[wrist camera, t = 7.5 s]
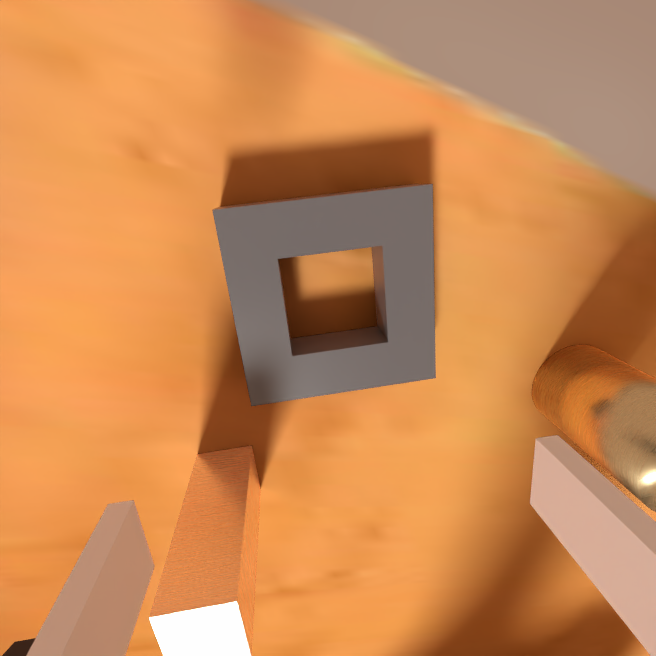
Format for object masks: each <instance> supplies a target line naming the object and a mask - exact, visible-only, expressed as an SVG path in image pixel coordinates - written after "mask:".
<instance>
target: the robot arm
mask: <svg viewBox="0 0 656 656" xmlns="http://www.w3.org/2000/svg"><path fill="white" fill-rule="evenodd" d="M530 504H531V506H532V507H533V508H534V509H535V511H536V512H537V513H538V515H539V516H540V517H541V518H542V520H543V521H544V522H545V523H546V525H547V526H548V527H549V528H550V530H551V531H552V532H553V533H554V535H555V536H556V537H557V538H558V540H559V541H560V542H561V543H562V545H563V546H564V547H565V548H566V550H567V551H568V552H569V553H570V555H571V556H572V557H573V559H574V560H575V561H576V562H577V564H578V565H579V566H580V567H581V569H582V570H583V571H584V572H585V574H586V575H587V576H588V577H589V579H590V580H591V581H592V582H593V584H594V585H595V586H596V587H597V589H598V590H599V591H600V592H601V594H602V595H603V596H604V598H605V599H606V600H607V601H608V603H609V604H610V605H611V606H612V608H613V609H614V610H615V611H616V613H617V614H618V615H619V616H620V618H621V619H622V620H623V621H624V623H625V624H626V625H627V626H628V628H629V629H630V630H631V631H632V633H633V634H634V635H635V636H636V638H637V639H638V640H639V642H640V643H641V644H642V645H643V647H644V648H645V649H646V650H647V652H648V653H649V654H650V655H651V656H656V522H655V521H654V520H653V519H652V518H651V517H650V516H648V515H647V514H646V513H645V512H644V511H643V510H642V509H640V508H639V507H638V506H637V505H636V504H635V503H634V502H633V501H631V500H630V499H629V498H628V497H627V496H626V495H625V494H624V493H622V492H621V491H620V490H619V489H618V488H617V487H616V486H615V485H613V484H612V483H611V482H610V481H609V480H608V479H607V478H606V477H604V476H603V475H602V474H601V473H600V472H599V471H598V470H596V469H595V468H594V467H593V466H592V465H591V464H590V463H589V462H587V461H586V460H585V459H584V458H583V457H582V456H581V455H580V454H578V453H577V452H576V451H575V450H574V449H573V448H572V447H571V446H569V445H568V444H567V443H566V442H565V441H564V440H563V439H562V438H560V437H559V436H558V435H554V436H547V437H541V438H536V442H535V453H534V464H533V475H532V486H531V497H530ZM153 570H154V563H153V560H152V557H151V553H150V550H149V547H148V544H147V541H146V538H145V534H144V531H143V528H142V525H141V522H140V519H139V516H138V512H137V509H136V506H135V503H134V500H132V501H125V502H119V503H112V504H108V505H107V507H106V509H105V511H104V513H103V515H102V516H101V518H100V520H99V522H98V524H97V526H96V528H95V529H94V531H93V533H92V535H91V537H90V539H89V541H88V542H87V544H86V546H85V548H84V550H83V552H82V554H81V555H80V557H79V559H78V561H77V563H76V565H75V566H74V568H73V570H72V572H71V574H70V576H69V578H68V579H67V581H66V583H65V585H64V587H63V589H62V591H61V592H60V594H59V596H58V598H57V600H56V602H55V604H54V605H53V607H52V609H51V611H50V613H49V615H48V616H47V618H46V620H45V622H44V624H43V626H42V628H41V629H40V631H39V633H38V635H37V637H36V638H35V639H29V640H23V641H18V642H14V643H13V644H12V646H11V647H10V648H9V649H8V650H7V651H6V652H5V653H4V654H3V655H2V656H125V655H126V652H127V649H128V646H129V643H130V640H131V636H132V633H133V630H134V627H135V624H136V621H137V618H138V615H139V612H140V609H141V606H142V603H143V600H144V597H145V594H146V591H147V588H148V585H149V582H150V579H151V576H152V573H153Z"/></svg>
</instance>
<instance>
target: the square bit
mask: <svg viewBox="0 0 656 656" xmlns="http://www.w3.org/2000/svg"><path fill="white" fill-rule="evenodd" d="M260 492H261V487H260V482H259V478H258V473H257V468H256V463H255V458H254V453H253V448H252V446H246V447H239V448H233V449H227V450H221V451H214V452H208V453H202V454H197V457H196V461H195V464H194V467H193V471H192V474H191V478H190V481H189V484H188V488H187V491H186V495H185V498H184V501H183V505H182V508H181V512H180V515H179V518H178V522H177V525H176V529H175V532H174V535H173V539H172V542H171V546H170V549H169V552H168V556H167V559H166V563H165V566H164V569H163V573H162V576H161V580H160V583H159V586H158V590H157V593H156V597H155V600H154V603H153V607H152V610H151V614H150V617H149V619H150V621H151V624H152V627H153V629H154V632H155V635H156V637H157V640H158V642H159V645H160V648H161V650H162V653H163V656H252V637H253V619H254V601H255V583H256V565H257V547H258V529H259V511H260Z"/></svg>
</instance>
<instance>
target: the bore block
mask: <svg viewBox="0 0 656 656" xmlns="http://www.w3.org/2000/svg"><path fill="white" fill-rule="evenodd" d="M213 215H214V220H215V225H216V230H217V235H218V240H219V245H220V250H221V255H222V260H223V265H224V270H225V276H226V281H227V286H228V291H229V296H230V301H231V306H232V311H233V316H234V321H235V326H236V331H237V336H238V341H239V346H240V351H241V356H242V361H243V366H244V371H245V376H246V381H247V386H248V392H249V397H250V402H251V406H256V405H263V404H269V403H276V402H282V401H289V400H295V399H302V398H308V397H315V396H321V395H328V394H335V393H341V392H348V391H354V390H361V389H367V388H374V387H380V386H387V385H393V384H400V383H406V382H413V381H420V380H426V379H433V378H436V372H435V307H434V242H433V184H409V185H400V186H392V187H383V188H375V189H366V190H358V191H349V192H341V193H332V194H323V195H315V196H306V197H298V198H289V199H281V200H272V201H264V202H255V203H246V204H238V205H229V206H221V207H218V208H216V209H213ZM367 247H372V259H373V273H374V288H375V302H376V317H377V326H375V327H368V328H361V329H354V330H347V331H340V332H333V333H326V334H319V335H312V336H305V337H298V338H291V337H290V331H289V324H288V317H287V310H286V304H285V297H284V290H283V284H282V277H281V270H280V264H279V259H281V258H289V257H297V256H304V255H312V254H320V253H328V252H336V251H344V250H351V249H359V248H367Z"/></svg>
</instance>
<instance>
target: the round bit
mask: <svg viewBox="0 0 656 656" xmlns="http://www.w3.org/2000/svg"><path fill="white" fill-rule="evenodd" d="M532 399H533V402H534V405H535V407H536V408H537V409H538V411H539V412H541V413H542V414H543V415H544V416H545V417H546V418H547V419H548V420H550V421H551V422H552V423H553V424H554V425H555V426H556V427H558V428H559V429H560V430H561V431H562V432H563V433H564V434H565V435H567V436H568V437H569V438H570V439H571V440H572V441H573V442H575V443H576V444H577V445H578V446H579V447H580V448H581V449H583V450H584V451H585V452H586V453H587V454H588V455H589V456H590V457H592V458H593V459H594V460H595V461H596V462H597V463H598V464H600V465H601V466H602V467H603V468H604V469H605V470H606V471H608V472H609V473H610V474H611V475H612V476H613V477H614V478H615V479H617V480H618V481H619V482H620V483H621V484H622V485H623V486H625V487H626V488H627V489H628V490H629V491H630V492H631V493H633V494H634V495H635V496H636V497H637V498H638V499H639V500H640V501H642V502H643V503H644V504H645V505H646V506H647V507H648V508H650V509H651V510H653V511H655V512H656V378H654V377H652V376H650V375H648V374H646V373H644V372H642V371H640V370H639V369H637V368H635V367H633V366H631V365H629V364H627V363H625V362H623V361H621V360H619V359H617V358H616V357H614V356H612V355H610V354H608V353H606V352H604V351H602V350H600V349H598V348H596V347H594V346H591V345H582V344H581V345H573V346H569V347H566V348H564V349H562V350H560V351H558V352H556V353H555V354H553V355H552V356H551V357H550V358H548V359H547V360H546V361H545V362H544V364H543V365H542V366H541V367H540V369H539V370H538V372H537V374H536V376H535V378H534V381H533V385H532Z"/></svg>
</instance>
